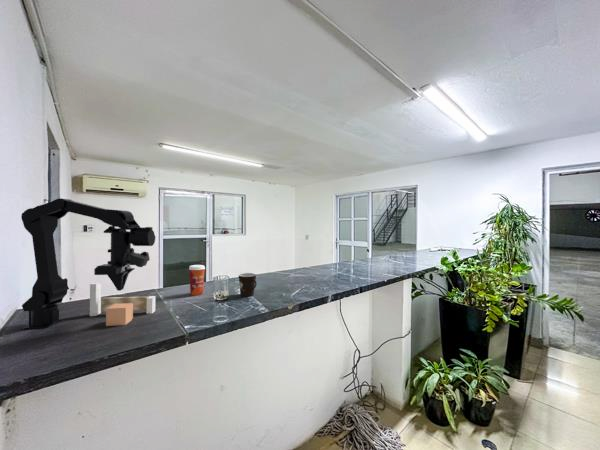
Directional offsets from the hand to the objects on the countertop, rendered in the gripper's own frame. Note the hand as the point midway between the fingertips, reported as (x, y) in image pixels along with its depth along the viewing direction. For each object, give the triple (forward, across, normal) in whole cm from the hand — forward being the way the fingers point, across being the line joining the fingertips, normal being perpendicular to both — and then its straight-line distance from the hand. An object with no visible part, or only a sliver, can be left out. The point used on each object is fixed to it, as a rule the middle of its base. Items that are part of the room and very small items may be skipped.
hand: (120, 290), depth 86 cm
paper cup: (+12, +33, -18) cm, 39 cm away
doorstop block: (+12, 0, 0) cm, 12 cm away
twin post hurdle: (+12, +9, +4) cm, 15 cm away
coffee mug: (+12, +27, -43) cm, 52 cm away
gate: (+10, +9, +3) cm, 14 cm away
